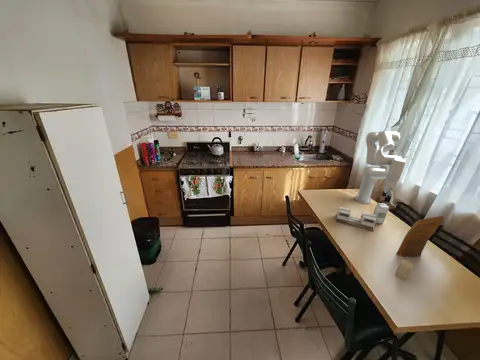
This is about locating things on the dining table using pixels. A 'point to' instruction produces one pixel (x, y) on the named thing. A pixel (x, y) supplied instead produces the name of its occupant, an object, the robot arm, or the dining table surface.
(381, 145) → the robot arm
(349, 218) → the rail board
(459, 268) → the dining table surface
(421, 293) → the dining table surface
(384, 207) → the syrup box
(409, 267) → the candle
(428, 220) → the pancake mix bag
